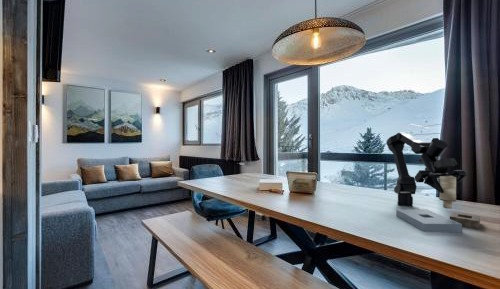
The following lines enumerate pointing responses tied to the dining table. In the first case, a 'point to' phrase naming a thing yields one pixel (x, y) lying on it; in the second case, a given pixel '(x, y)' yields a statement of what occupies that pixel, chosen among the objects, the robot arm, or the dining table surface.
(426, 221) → the board
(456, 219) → the frame
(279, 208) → the dining table surface
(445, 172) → the robot arm
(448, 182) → the leg
